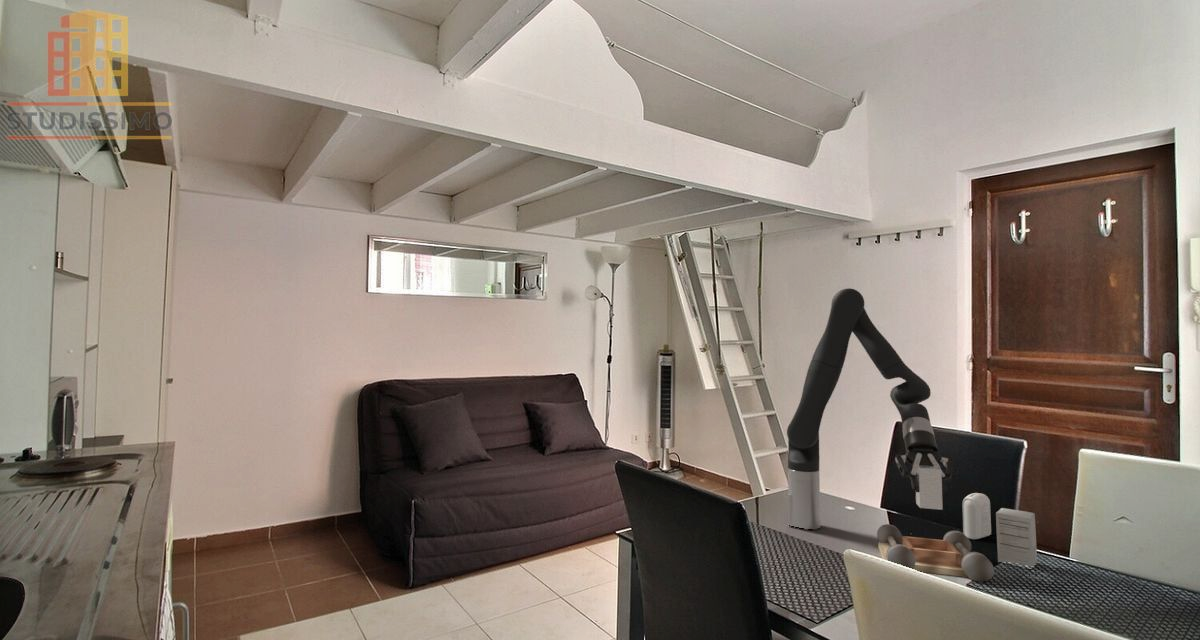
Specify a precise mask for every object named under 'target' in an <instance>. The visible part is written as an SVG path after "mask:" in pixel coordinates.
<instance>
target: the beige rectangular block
mask: <svg viewBox="0 0 1200 640" xmlns="http://www.w3.org/2000/svg"><path fill="white" fill-rule="evenodd" d="M941 470H942V469H940V468H939V467H937V466H930V465H916V471H917V474H916V476H917V477H918V482H919V492H916V491H915V503H916V505H917V506H918V507H919V508H920V509H930V510H939V511H940V510H943V494H942V475H941Z"/></svg>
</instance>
